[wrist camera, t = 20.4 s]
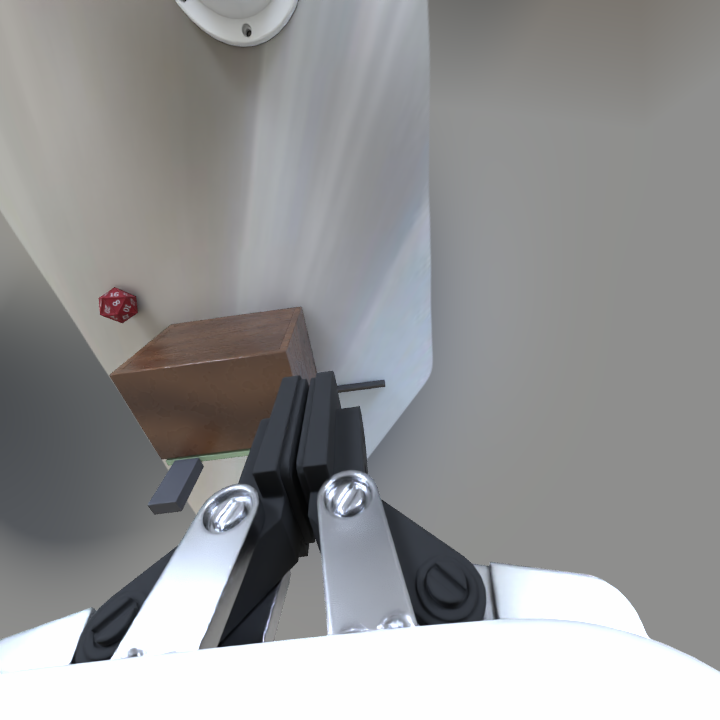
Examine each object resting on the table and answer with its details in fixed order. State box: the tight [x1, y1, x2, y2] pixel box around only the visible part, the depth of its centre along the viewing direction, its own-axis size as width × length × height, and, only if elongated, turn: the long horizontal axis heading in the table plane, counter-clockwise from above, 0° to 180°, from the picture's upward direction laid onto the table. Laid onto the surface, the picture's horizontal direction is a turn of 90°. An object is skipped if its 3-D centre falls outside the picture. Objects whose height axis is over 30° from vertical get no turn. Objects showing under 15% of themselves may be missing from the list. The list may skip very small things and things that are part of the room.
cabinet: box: [110, 307, 385, 459], centre depth 40 cm, size 14×28×13 cm, turn 97°
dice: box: [99, 287, 138, 323], centre depth 39 cm, size 4×4×4 cm
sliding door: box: [148, 448, 251, 514], centre depth 41 cm, size 2×17×19 cm, turn 97°
